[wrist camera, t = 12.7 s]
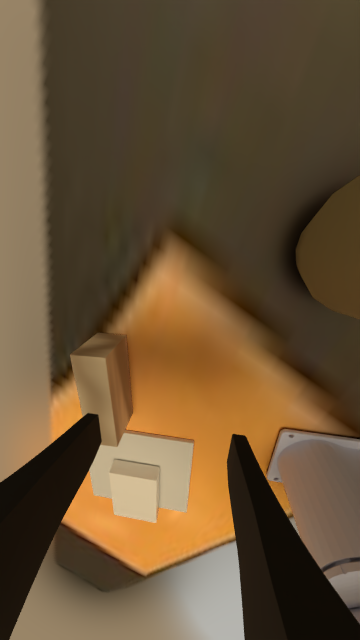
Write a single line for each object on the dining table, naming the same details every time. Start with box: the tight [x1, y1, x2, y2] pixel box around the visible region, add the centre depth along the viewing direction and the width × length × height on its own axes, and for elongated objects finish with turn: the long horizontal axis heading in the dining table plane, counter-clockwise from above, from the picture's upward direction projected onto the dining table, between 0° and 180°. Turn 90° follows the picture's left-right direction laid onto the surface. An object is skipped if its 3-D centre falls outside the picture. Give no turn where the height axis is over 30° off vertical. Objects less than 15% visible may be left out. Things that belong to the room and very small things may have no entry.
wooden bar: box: [70, 333, 133, 447], centre depth 19 cm, size 3×10×4 cm, turn 179°
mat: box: [89, 430, 194, 513], centre depth 26 cm, size 14×14×1 cm
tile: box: [109, 460, 160, 523], centre depth 26 cm, size 6×2×9 cm
